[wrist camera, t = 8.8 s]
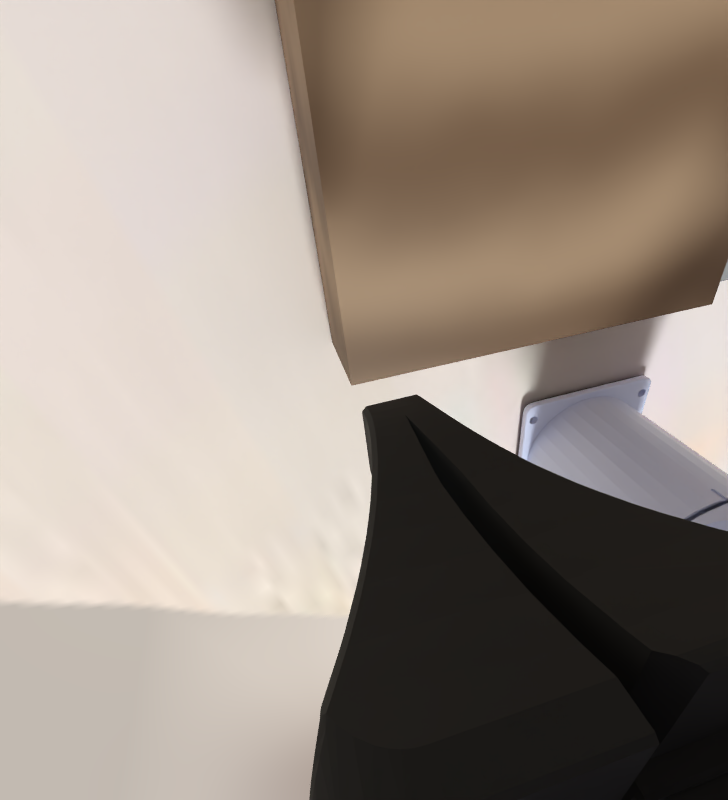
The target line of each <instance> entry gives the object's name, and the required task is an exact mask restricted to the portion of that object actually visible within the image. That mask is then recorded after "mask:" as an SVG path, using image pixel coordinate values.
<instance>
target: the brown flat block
mask: <svg viewBox="0 0 728 800" xmlns="http://www.w3.org/2000/svg"><path fill="white" fill-rule="evenodd" d="M275 4H276V10H277V16H278V22H279V28H280V34H281V40H282V46H283V52H284V58H285V63H286V69H287V75H288V81H289V87H290V93H291V99H292V105H293V111H294V117H295V123H296V129H297V135H298V141H299V147H300V152H301V158H302V164H303V170H304V176H305V182H306V188H307V194H308V200H309V206H310V212H311V218H312V224H313V230H314V236H315V241H316V247H317V253H318V259H319V265H320V271H321V277H322V283H323V289H324V295H325V301H326V307H327V313H328V319H329V325H330V330H331V336H332V342H333V345H334V347H335V349H336V352H337V354H338V356H339V358H340V361H341V363H342V365H343V367H344V370H345V372H346V374H347V376H348V379H349V381H350V383H351V385H356V384H361V383H365V382H369V381H374V380H378V379H383V378H387V377H392V376H396V375H400V374H405V373H409V372H414V371H418V370H423V369H427V368H431V367H436V366H440V365H445V364H449V363H453V362H458V361H462V360H467V359H471V358H476V357H480V356H484V355H489V354H493V353H498V352H502V351H507V350H511V349H515V348H520V347H524V346H529V345H533V344H538V343H542V342H546V341H551V340H555V339H560V338H564V337H568V336H573V335H577V334H582V333H586V332H591V331H595V330H599V329H604V328H608V327H613V326H617V325H622V324H626V323H630V322H635V321H639V320H644V319H648V318H652V317H657V316H661V315H666V314H670V313H675V312H679V311H683V310H688V309H692V308H697V307H701V306H706V305H710V304H712V303H713V300H714V297H715V294H716V292H717V289H718V286H719V283H720V280H721V277H722V275H723V272H724V269H725V266H726V263H727V260H728V0H275Z"/></svg>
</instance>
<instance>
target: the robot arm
mask: <svg viewBox="0 0 728 800" xmlns="http://www.w3.org/2000/svg"><path fill="white" fill-rule="evenodd" d="M650 384H651V380H650V379H649V378H648V377H646V376H638V377H634V378H630V379H626V380H622V381H618V382H613V383H609V384H605V385H601V386H597V387H593V388H589V389H585V390H581V391H577V392H573V393H569V394H565V395H561V396H557V397H553V398H549V399H545V400H541V401H537V402H533V403H530V404H528V405H527V406H526V407H525V408H524V411H523V418H522V427H521V436H520V445H519V454H518V456H517V455H515V454H513V453H512V452H510V451H508V450H506V449H504V448H502V447H500V446H498V445H497V444H495V443H493V442H491V441H489V440H488V439H486V438H484V437H483V436H481V435H479V434H477V433H476V432H474V431H472V430H471V429H469V428H468V427H466V426H464V425H463V424H461V423H460V422H458V421H456V420H455V419H453V418H452V417H450V416H449V415H447V414H446V413H444V412H442V411H441V410H439V409H438V408H436V407H435V406H433V405H432V404H430V403H429V402H427V401H426V400H424V399H423V398H421V397H420V396H418V395H413V396H409V397H404V398H400V399H396V400H391V401H387V402H383V403H379V404H374V405H370V406H366V408H365V409H364V410H363V411H362V414H363V421H364V428H365V435H366V442H367V450H368V457H369V464H370V470H371V474H372V486H371V502H370V512H369V521H368V528H367V535H366V541H365V547H364V552H363V558H362V564H361V569H360V573H359V578H358V582H357V587H356V591H355V595H354V598H353V602H352V606H351V610H350V614H349V618H348V622H347V626H346V630H345V633H344V637H343V640H342V644H341V647H340V650H339V653H338V656H337V660H336V663H335V666H334V669H333V672H332V675H331V678H330V681H329V684H328V687H327V690H326V694H325V697H324V700H323V703H322V706H321V713H320V723H319V729H318V736H317V742H316V749H315V756H314V764H313V771H312V779H311V788H310V800H728V474H727V473H725V472H724V471H722V470H721V469H719V468H718V467H717V466H715V465H714V464H712V463H711V462H709V461H708V460H707V459H705V458H704V457H702V456H701V455H699V454H698V453H697V452H695V451H694V450H692V449H691V448H689V447H688V446H687V445H685V444H684V443H682V442H681V441H679V440H678V439H677V438H675V437H674V436H672V435H671V434H669V433H668V432H667V431H665V430H664V429H662V428H661V427H659V426H658V425H657V424H655V423H654V422H652V421H651V420H649V419H648V418H647V417H645V416H644V415H642V411H643V407H644V404H645V401H646V397H647V394H648V391H649V387H650ZM532 417H533V418H532ZM531 418H532V419H531ZM530 419H531V420H530Z"/></svg>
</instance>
